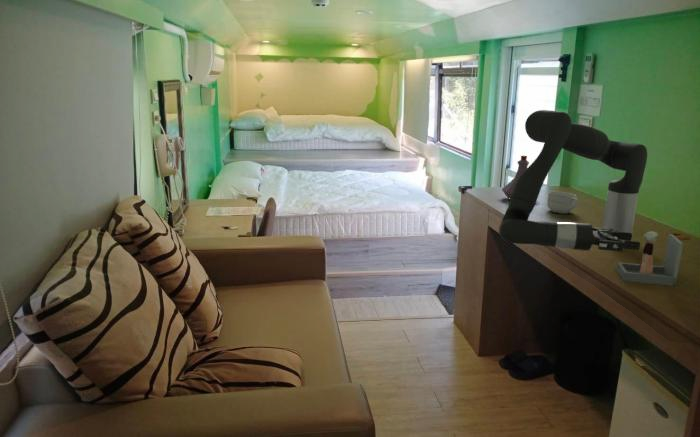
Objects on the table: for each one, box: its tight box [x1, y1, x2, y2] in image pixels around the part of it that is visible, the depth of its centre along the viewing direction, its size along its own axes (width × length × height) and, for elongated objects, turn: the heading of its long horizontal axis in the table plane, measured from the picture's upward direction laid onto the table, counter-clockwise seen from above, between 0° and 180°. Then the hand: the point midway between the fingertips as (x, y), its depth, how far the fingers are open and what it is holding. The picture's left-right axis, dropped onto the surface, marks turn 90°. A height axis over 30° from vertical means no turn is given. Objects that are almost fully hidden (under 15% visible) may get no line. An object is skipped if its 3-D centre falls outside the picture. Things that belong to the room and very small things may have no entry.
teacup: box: [547, 191, 580, 214], centre depth 216 cm, size 14×11×8 cm
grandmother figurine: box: [639, 230, 659, 274], centre depth 145 cm, size 8×4×13 cm, turn 157°
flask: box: [501, 155, 530, 199], centre depth 236 cm, size 16×16×20 cm
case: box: [615, 233, 684, 287], centre depth 146 cm, size 9×13×12 cm
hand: (635, 241), depth 145 cm, fingers open, 8 cm apart
